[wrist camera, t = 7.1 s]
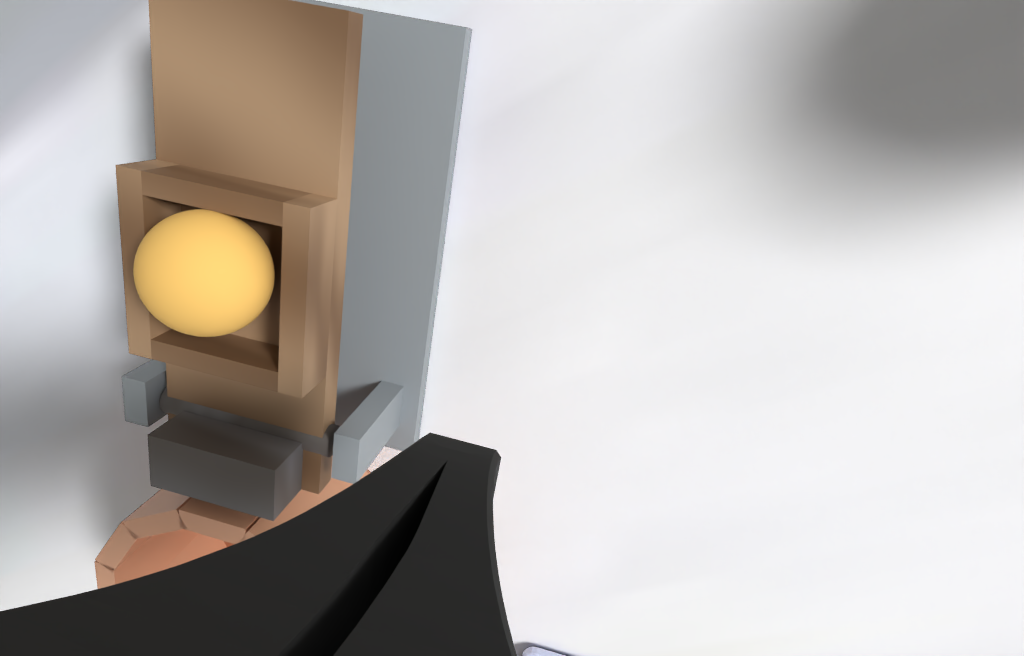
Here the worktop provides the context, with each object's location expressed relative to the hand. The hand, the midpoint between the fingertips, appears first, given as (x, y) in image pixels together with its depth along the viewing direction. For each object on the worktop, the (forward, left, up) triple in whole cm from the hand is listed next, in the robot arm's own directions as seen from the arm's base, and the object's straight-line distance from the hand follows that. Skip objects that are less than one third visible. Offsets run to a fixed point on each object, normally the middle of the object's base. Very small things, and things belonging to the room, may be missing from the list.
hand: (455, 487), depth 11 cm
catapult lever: (+1, +8, -7) cm, 11 cm away
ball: (+1, +8, -4) cm, 9 cm away
